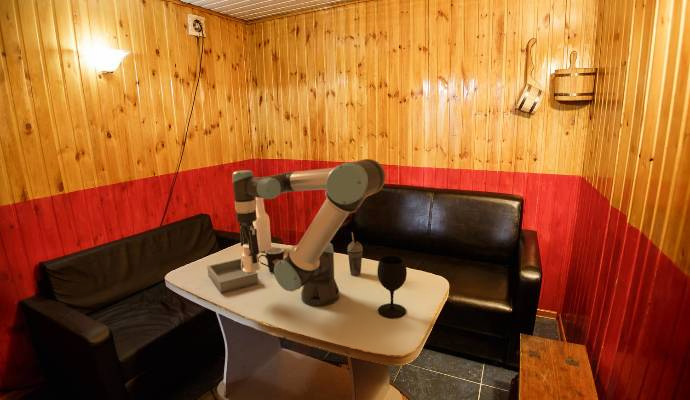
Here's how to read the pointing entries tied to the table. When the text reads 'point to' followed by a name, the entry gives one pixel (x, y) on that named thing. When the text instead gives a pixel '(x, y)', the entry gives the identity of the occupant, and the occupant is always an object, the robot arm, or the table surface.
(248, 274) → the tote
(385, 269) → the wine glass
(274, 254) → the coffee mug
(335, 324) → the table surface
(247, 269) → the downlight
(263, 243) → the alcohol
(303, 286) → the robot arm
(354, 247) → the beverage cup
